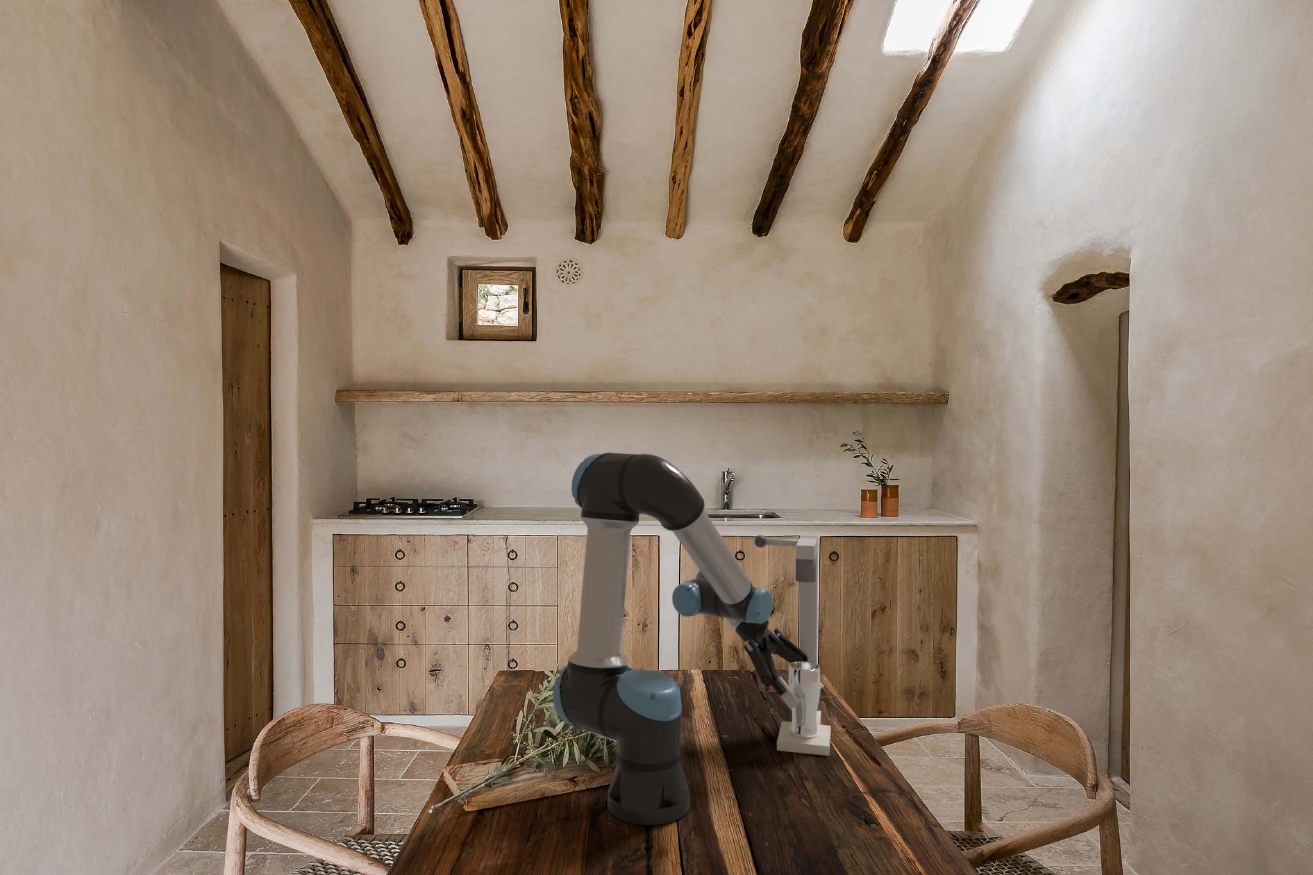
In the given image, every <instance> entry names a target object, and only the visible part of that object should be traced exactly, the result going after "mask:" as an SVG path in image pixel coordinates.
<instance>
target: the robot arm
mask: <svg viewBox="0 0 1313 875" xmlns="http://www.w3.org/2000/svg"><path fill="white" fill-rule="evenodd" d="M573 473H574V474H573V476H572V480H571V496H572V497H573V499H574V502H575V504H576V505H577V506H578V507H579V508H581V514H580V519H581V520H582V522H583V523H584V524H585V525H586V527H587V530H586V532H587V533H586V544H585V555H584V566H583V576H582V588H581V589H582V590H581V598H580V613H579V624H578V634H577V645H576V646H577V648H576V650H575V651H574V652H573V653H572V654H571V655H569V656H568V660H567V664H566V665H565V666H563V667H562V669H560V671H559V672H558V674H559V676H556V678H555V679H554V684H553V686H552V700H553V701H552V702H553V703H552V704H553V706H554V709H555V711H556V714H557V715H558V717H559V718H560V719H561V720H562V721H564V723H566V724H568V725H570V726H572V727H573V728H575V729H577V730H581V731H586V732H588V733H592V734H594V735H597V736H600V737H605V738H607V739H610V740H614V741H615V742H616V743H617V746H616V747H617V752H616V753H617V758H616V760H617V762H616V766H615V769H614V773H613V775H612V778H611V782H610V784H609V788H608V791H607V809H608V811H609V813H610V814H611V815H612V816H613V817H615V818H616V819H618V820H619V821H620V820H621V821H622V822H626V823H627V824H628V823H629V824H632V825H633V824H634V825H640V826H657V825H664V824H669V823H672V822H675V821H677V820H679V819H680V818H682V817H684V816H685V815H686V814H687V813H688V812H689V810H690V807H691V804H690V802H691V800H690V799H691V798H690V797H691V794H690V789H689V786H688V783H687V780H686V776H685V772H684V770H683V767H682V763H681V751H682V750H681V744H682V743H681V742H682V741H681V739H682V738H681V737H682V736H681V734H682V732H681V731H682V726H681V725H682V711H683V710H682V709H683V706H682V702H681V701H682V700H681V698H682V697H681V690H680V687H679V684H678V683H677V682H676V681H675V680H674V679H673V678H672V677H671V676H669V675H667V674H665V673H663V672H659V671H655V670H645V669H632V670H630V671H627V666H628V660H627V659H626V657H624V655H623V654H622V651H621V650H622V639H623V638H622V636H623V627H624V613H625V602H626V590H627V589H626V588H627V578H628V568H629V566H628V564H629V553H630V542H631V531H632V530H633V528H635V527H636V526H637V525H639V523H640V515H645V516H649V517H651V518H654V519H656V520H657V521H658V522H659V524H661V526H662V527H663V529H665V530H666V531H670V532H672V533H673V534H674V536H675V537H676V538H677V540H678V541H679V543H680V544H681V545H682V547H683V548H684V549H685V551H686V553H687V554H688V555H689V557H690V558H691V560H692V561H693V562H694V564H695V566H696V567H697V568H698V572H697V574H696V576H695V578H694V579H690V580H686V581H684V582H682V583H680V584H678V585H677V586H675V588H674V589H673V591H672V594H671V598H672V599H671V600H672V601H671V602H672V605H673V607H674V609H675V612H677V613H678V614H679V615H681V616H682V617H687V618H689V617H695V616H697V615H698V614H700V615H704V616H705V615H706V616H712V617H717V618H724V619H726V621H727V622H728V623H729V624H730V626H731V627H732V628H735V632H736V634H737V635H738V637H739V638H740V639H741V641H742V642H745V644H744V645H743V649H744V651H746V653H747V654H748V656H749V658H750V660H751V663H752V665H753V666H754V669H755V672H756V674H757V676H758V678H759V680H760V682H761V683H762V684H763V685H765V686H766V687H769V686H770V685H771V686H772V688H773V689H774V690H775V691H776V692H777V694H778V695H779V696H780V698H781V699H782V700H783V702H784V703H785V704H786V706H788V708H789V709H790V710H792V708H794V707H795V706H796V705H797V704H798V703H799V702H800V700H799V699H798V698H797V697H796V695H795V694H794V693H793V691H792V690H791V689H790V688H789V684H788V683H787V682H786V681H785V680H784V678H783V677H782V676H779V675H778V673H777V669H776V666H775V662H774V659H773V656H772V654H773V655H777V656H778V657H781V659H783V660H785V661H786V662H787V663H789V664H791V663H793V662H801V661H803V662H806V661H808V658H807V655H806V654H804V653H803V652H802V651H801V650H800V649H799V647H797V645H795V644H794V643H792V641H791V640H789V638H787V637H786V636H785V635H784V633H782V632H781V631H780V629H778V628H777V627H775V628H774V630H773V631H771V630H770V629H769V628H768V626H769V623H770V622H769V619H770V617H771V613H772V611H773V606H774V605H773V597H772V595H771V592H769V590H767V589H764V588H761V587H759V586H757V587H755V586H754V585H753V584H752V582H751V580H750V579H749V577H748V576H747V574H746V573H745V571H744V570H743V568H742V567H741V565H740V563H739V562H738V560H737V559H736V557H735V555H734V554H733V553H732V551H731V550H730V548H729V546H728V544H727V543H726V542H725V540H724V539H723V536H721V534H720V532H719V531H718V529H717V528H716V526H715V525H714V523H713V521H712V520H711V519H710V517H709V516H708V513H707V512H706V511H705V509H706V503H705V500H704V498H703V496H702V495H701V492H699V490H698V489H697V488H696V486H695V485H694V483H693V482H692V481H691V480H690V479H689V477H687V476H686V475H685V474H684V473H683V472H682V471H681V470H680V469H679V468H678V467H677V466H675V465H674V464H672V463H671V462H670V461H668V460H666V459H664V458H662V457H661V456H657V455H654V454H649V453H638V454H636V453H623V452H621V453H620V452H618V453H617V452H603V453H593V454H590V455H588V456H587V457H585V458H584V460H583V461H582V462H579V464H578V466H577V467H576V469H575V471H574V472H573ZM778 676H779V677H778ZM820 685H821V686H820V690H821V689H823V688H824V687H825V686H824V684H823V683H822V681H820Z"/></svg>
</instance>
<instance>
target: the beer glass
mask: <svg viewBox="0 0 1313 875" xmlns="http://www.w3.org/2000/svg"><path fill="white" fill-rule="evenodd" d="M820 670H821V669H820V665H819V664H818V663H817V664H815V663H812V662H803V661H801V662H793V663H789V670H788V671H789V672H788V686H789V688H790V689H791V690H792V691H793V693H794V694H795V695H796V697H797V698H798V699H799V700H800V702H799V703H798V704H797V705H796V706H795V707H794V708H792V709H791V722H792V724H791V729H790V732H791V734H792V735H794V736H796V737H800V738H813V737H816V736H817V735H818V729H817V723H816V715H817V711H818V707H819V703H820V697H821V689H820V686H821V685H820V682H821V671H820Z"/></svg>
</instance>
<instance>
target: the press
mask: <svg viewBox="0 0 1313 875" xmlns="http://www.w3.org/2000/svg"><path fill="white" fill-rule="evenodd" d="M753 541H754V545H755V546H756V547H757V548H758V549H759V548H765V547H766V546H785V547H795V582H799V604H798V605H799V609H798V610H799V612H798V613H799V614H798V615H799V621H798V622H799V623H798V624H799V628H798V629H799V630H798V631H799V634H798V637H799V638H798V640H799V641H798V646H799V647H798V648H799V649H800V650H801V651H802V652H803V653H804V654H806V655H807V658H808V661H806V662H812V663H815V664H817V665H818V598H819V596H818V587H819V586H818V578H819V576H818V575H819V574H818V573H819V572H818V570H819V569H818V568H819V567H818V566H819V565H818V564H819V561H818V560H819V559H818V558H819V549H818V548H819V536H818V535H815V536H814V535H800V537H799V539H794V538H793V539H792V538H772V537H770V538H769V537H768V538H767V537H766V536H764V535H762V534H761V535H760V534H759V535H757V536H756V537H755V538H754V540H753ZM821 722H822V711H821V710H817V715H816V723H817V729H818V735H817V736H816V737H813V738H800V737H796V736H794V735H792V734H791V732H790V729H791V724H792V721H786V720H782V721H781V724H780V728H779V732H778V737H777V739H776V751H779V752H780V751H781V752H789V753H799V754H808V755H816V756H817V755H818V756H819V755H820V756H827V757H828V756H830V749H831V747H830V746H831V735H832V733H831V732H832V731H831V728H832V727H831V725H828V724H827V725H825V724H821Z"/></svg>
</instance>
